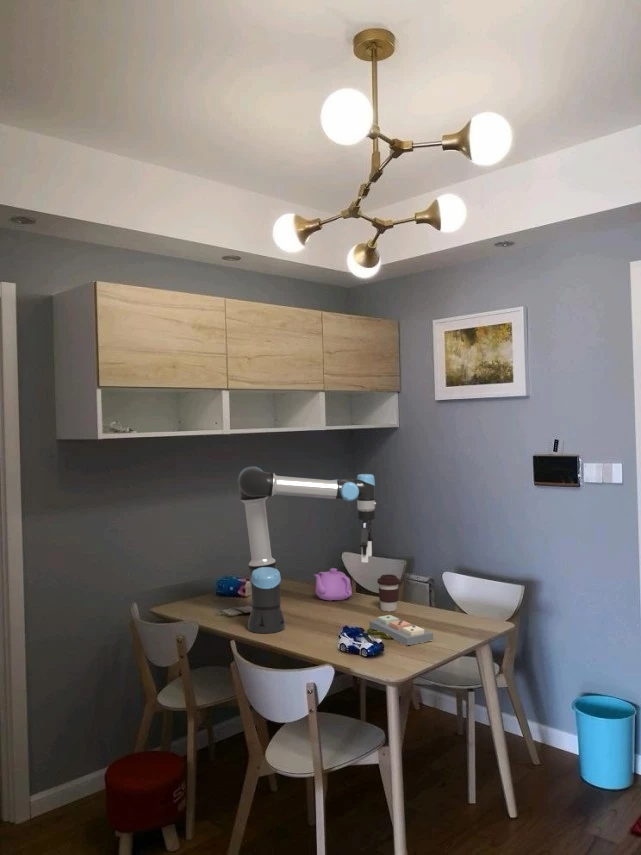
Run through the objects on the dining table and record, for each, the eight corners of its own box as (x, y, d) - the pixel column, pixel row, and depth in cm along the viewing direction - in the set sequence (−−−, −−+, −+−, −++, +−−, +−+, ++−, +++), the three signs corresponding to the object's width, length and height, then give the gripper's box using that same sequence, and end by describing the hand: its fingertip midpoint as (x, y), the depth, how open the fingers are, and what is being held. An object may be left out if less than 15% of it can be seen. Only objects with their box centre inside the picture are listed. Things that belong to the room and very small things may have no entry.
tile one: (386, 628, 270) (386, 619, 270) (377, 624, 275) (377, 616, 275) (398, 626, 272) (398, 617, 272) (390, 622, 278) (390, 614, 278)
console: (407, 646, 252) (406, 638, 252) (369, 628, 275) (369, 620, 275) (433, 641, 257) (433, 633, 257) (394, 623, 280) (394, 616, 280)
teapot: (297, 599, 322) (297, 569, 322) (329, 590, 338) (329, 562, 338) (331, 607, 307) (331, 576, 307) (363, 598, 323) (362, 569, 322)
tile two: (411, 639, 255) (411, 631, 255) (402, 635, 260) (402, 627, 260) (424, 637, 257) (424, 628, 257) (414, 633, 263) (414, 624, 263)
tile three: (398, 633, 262) (398, 625, 262) (389, 629, 267) (389, 621, 267) (411, 631, 265) (411, 623, 265) (402, 627, 270) (402, 619, 270)
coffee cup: (404, 611, 300) (404, 576, 300) (385, 614, 295) (384, 579, 295) (392, 605, 309) (392, 572, 308) (373, 608, 304) (373, 574, 304)
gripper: (371, 513, 283) (372, 565, 283) (377, 506, 307) (378, 553, 307) (353, 513, 284) (354, 564, 284) (361, 506, 308) (361, 553, 309)
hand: (366, 559), depth 296 cm, fingers open, 13 cm apart
